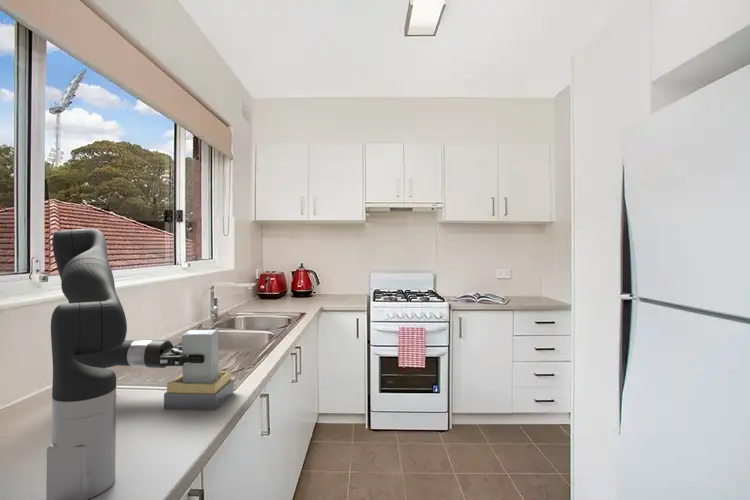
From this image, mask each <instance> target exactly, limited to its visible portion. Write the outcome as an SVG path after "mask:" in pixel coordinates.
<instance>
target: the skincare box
mask: <svg viewBox="0 0 750 500" xmlns="http://www.w3.org/2000/svg"><path fill="white" fill-rule="evenodd" d="M218 334H219V330H218V329H193V330H192V329H190V330H188V331H186V332H184V333H183V334H181V346H182V353H183V354H190V355H191V354H201V355H204V356H205V359H204V362H203V363H189V364H184V365H183V366H181V367H182V371H181V372H182V374H183V383H214V382H215V381H217V380H218V379H219V371H220V370H219V369H220V368H219V366H220V365H219V335H218Z"/></svg>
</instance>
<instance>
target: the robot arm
mask: <svg viewBox="0 0 750 500" xmlns="http://www.w3.org/2000/svg"><path fill="white" fill-rule="evenodd" d="M51 245H52V252H53V258H54V260H55V264H56V265H55V266H56V268H57V272H58V274H59V278H60V281H61V282H60V283H61V284H60V285H61V290H62V294H63V296H64V297H65V299H67V300H68V303H62V304H58V305H57V306H56V307H55V308H54V309H53V312H52V314H51V318H50V341H51V342H50V343H51V356H52V357H51V358H52V388H51V389H52V390H51V444H50V445H49V446H47V448H46V482H45V483H46V485H45V486H46V492H45V494H46V498H45V499H46V500H89V499H91V498H94V497H96V496H99V495H100V494H103V493H104V492H105V491H107V490H108V489H110V488H111V487H112V486H113V484H114V483H115V482H116V448H117V447H116V446H117V444H116V440H117V439H116V438H117V437H116V436H117V434H116V433H117V431H116V429H117V423H116V422H117V420H116V419H117V375H116V373H115V372H114V371H113V370H111V369H109V368H114V367H117V366H122V367H136V368H150V369H153V368H154V369H165V368H166V367H182V366H183V365H184V364H189V363H203V362H204V359H205V356H204V355H201V354H191V355H190V354H183V353H182V345H176V346H175V347H174V345H173V343H172V341H170V340H164V339H163V340H160V339H159V340H158V339H141V340H135V339H134V340H133V339H131V340H130V339H129V340H128V339H126V337H127V333H128V325H127V323H128V322H127V318H126V313H125V311H124V306H123V305H122V303H121V301H120V300H121V299H119V296H118V294H117V291H116V285H115V278H114V275H113V271H112V268H111V264H110V262H109V258H108V257H109V256H108V244H107V240H106V237H105V235H104V234H103V231H101V230H99V229H97V228H80V229H79V228H78V229H77V228H76V229H62V230H57V231H55V232H54V233H53V234H52V241H51Z"/></svg>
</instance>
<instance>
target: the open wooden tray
mask: <svg viewBox="0 0 750 500" xmlns="http://www.w3.org/2000/svg"><path fill="white" fill-rule="evenodd" d="M232 393H233V394H234V378H233V379H232V371H228V370H227V371H222V370H221V371H220V370H219V379H218V380H217V381H215V382H214V383H183V373H181V374H180V375H179V376H177V377H174V379H172V380H170V381H168V382H167V384H166V391H165V392H164V394H163V409H167V410H168V409H169V410H171V409H173V410H204V409H212V411H214V410H215V411H216V410H217V409H218V408H219V407H220V406H221V405H222V404H224V403H225V401H227V399H228V397H229V396H230V395H231V396H232V395H233V394H232ZM229 398H230V397H229Z"/></svg>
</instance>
